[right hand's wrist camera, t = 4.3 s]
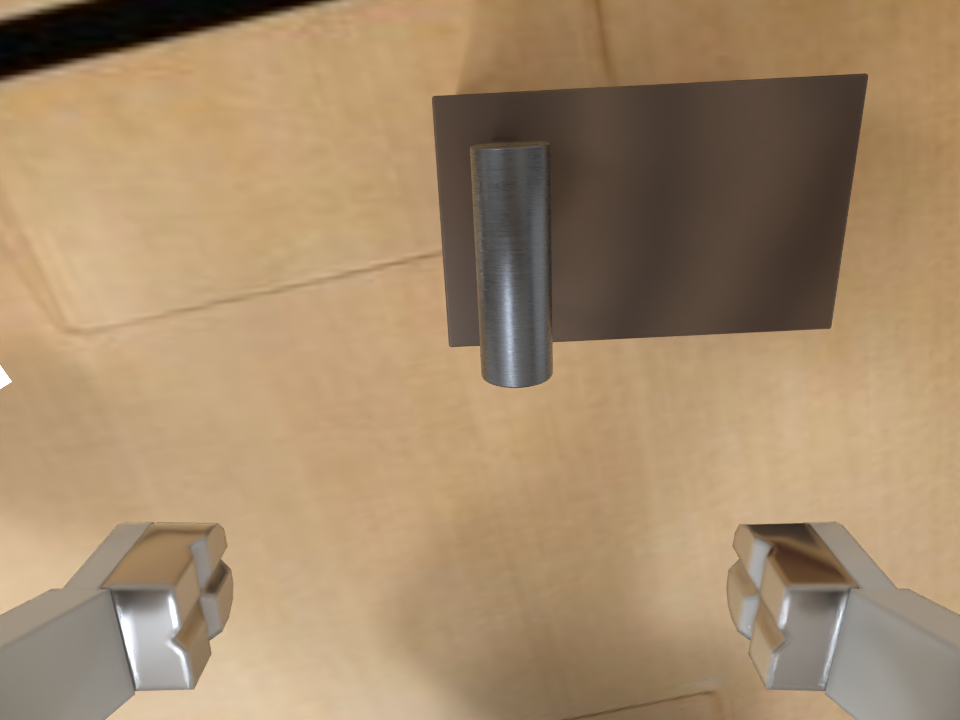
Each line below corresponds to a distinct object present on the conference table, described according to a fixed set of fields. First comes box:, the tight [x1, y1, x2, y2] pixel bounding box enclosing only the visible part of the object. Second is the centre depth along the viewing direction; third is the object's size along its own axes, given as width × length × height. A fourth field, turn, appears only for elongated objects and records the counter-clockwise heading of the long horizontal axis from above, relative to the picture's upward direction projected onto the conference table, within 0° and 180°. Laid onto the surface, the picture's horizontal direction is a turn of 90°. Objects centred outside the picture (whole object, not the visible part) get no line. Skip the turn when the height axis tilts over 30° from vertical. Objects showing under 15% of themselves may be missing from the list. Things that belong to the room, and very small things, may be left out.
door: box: [432, 74, 868, 388], centre depth 22 cm, size 15×9×8 cm, turn 93°
